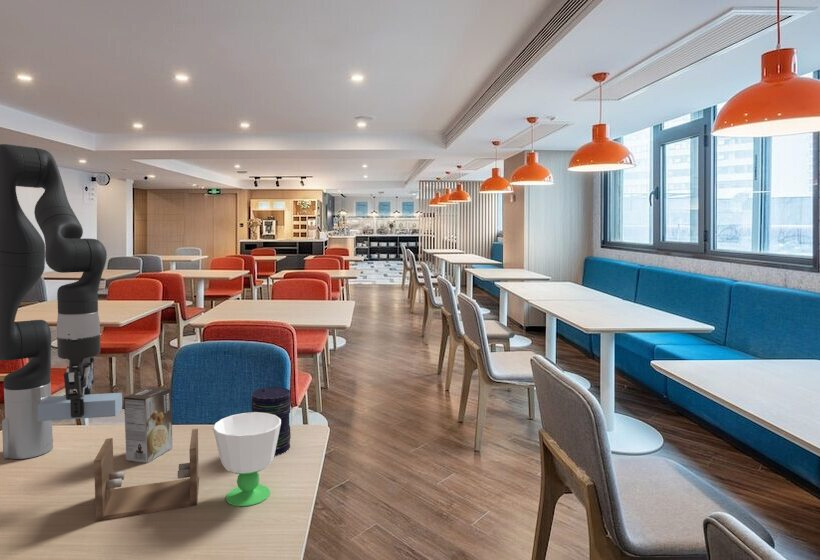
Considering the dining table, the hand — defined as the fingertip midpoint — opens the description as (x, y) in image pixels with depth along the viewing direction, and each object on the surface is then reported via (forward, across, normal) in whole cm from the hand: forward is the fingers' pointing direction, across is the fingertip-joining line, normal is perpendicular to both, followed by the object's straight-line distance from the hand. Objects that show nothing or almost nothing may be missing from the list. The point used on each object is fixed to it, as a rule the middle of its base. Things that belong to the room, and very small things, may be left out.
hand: (81, 411), depth 105 cm
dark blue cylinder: (+17, -9, +40) cm, 45 cm away
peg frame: (+17, +9, +14) cm, 24 cm away
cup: (+17, +14, +33) cm, 40 cm away
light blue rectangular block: (+1, 0, 0) cm, 1 cm away
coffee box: (+17, -15, +11) cm, 25 cm away
